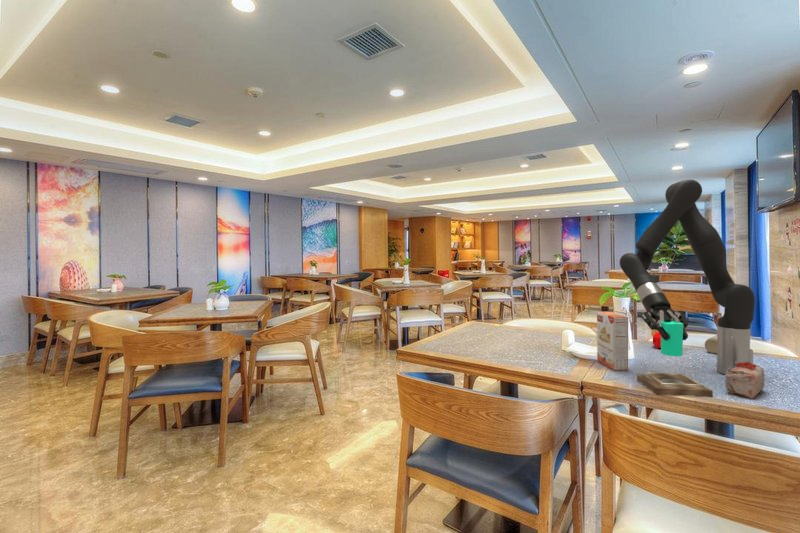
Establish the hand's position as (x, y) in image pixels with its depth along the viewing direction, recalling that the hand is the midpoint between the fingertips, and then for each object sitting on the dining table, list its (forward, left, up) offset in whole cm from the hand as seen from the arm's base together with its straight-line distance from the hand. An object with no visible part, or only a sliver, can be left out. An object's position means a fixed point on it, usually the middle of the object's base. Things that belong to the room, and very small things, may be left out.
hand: (676, 338), depth 126 cm
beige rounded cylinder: (-44, -53, -17) cm, 71 cm away
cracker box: (+10, -27, -17) cm, 33 cm away
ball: (-24, -60, -17) cm, 66 cm away
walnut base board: (0, -2, -17) cm, 17 cm away
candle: (+1, -2, -6) cm, 6 cm away
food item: (-20, 0, -17) cm, 27 cm away
